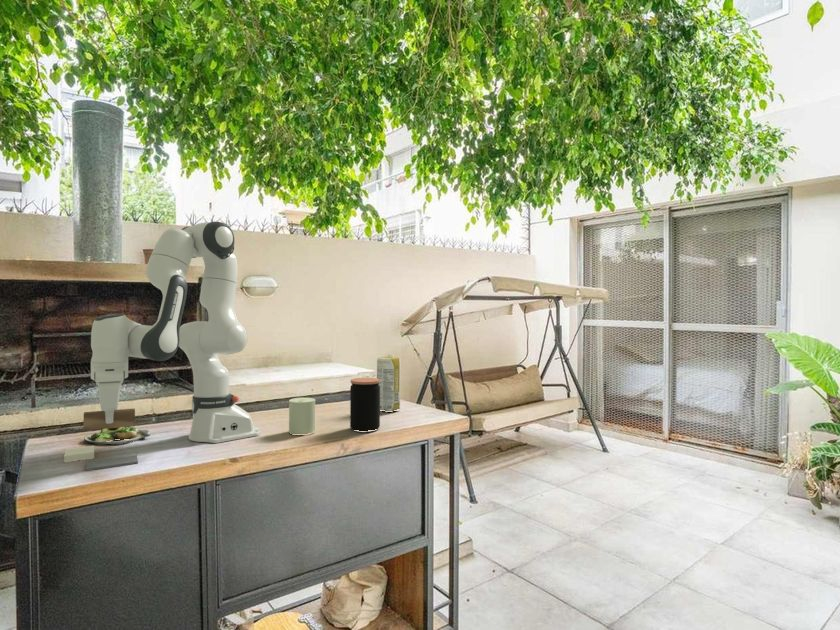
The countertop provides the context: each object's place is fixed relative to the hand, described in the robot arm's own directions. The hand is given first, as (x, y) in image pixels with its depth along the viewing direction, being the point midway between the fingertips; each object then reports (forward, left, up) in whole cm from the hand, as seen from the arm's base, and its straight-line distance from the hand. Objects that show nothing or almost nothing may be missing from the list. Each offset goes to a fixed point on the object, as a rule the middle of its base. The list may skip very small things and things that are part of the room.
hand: (109, 421), depth 137 cm
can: (-57, -6, -12) cm, 59 cm away
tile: (+7, -8, -11) cm, 16 cm away
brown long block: (0, 0, -2) cm, 2 cm away
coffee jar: (-78, +1, -12) cm, 79 cm away
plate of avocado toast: (-2, -30, -13) cm, 33 cm away
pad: (-1, 0, -12) cm, 12 cm away
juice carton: (-100, -22, -12) cm, 103 cm away
